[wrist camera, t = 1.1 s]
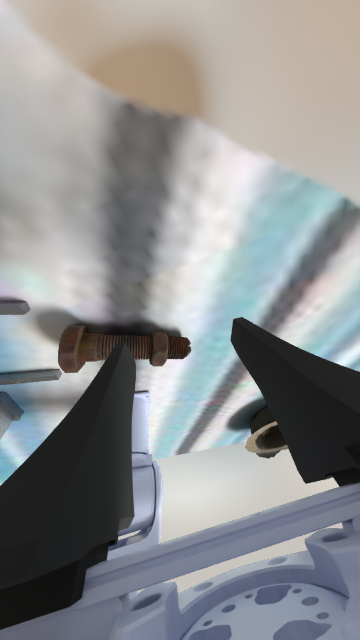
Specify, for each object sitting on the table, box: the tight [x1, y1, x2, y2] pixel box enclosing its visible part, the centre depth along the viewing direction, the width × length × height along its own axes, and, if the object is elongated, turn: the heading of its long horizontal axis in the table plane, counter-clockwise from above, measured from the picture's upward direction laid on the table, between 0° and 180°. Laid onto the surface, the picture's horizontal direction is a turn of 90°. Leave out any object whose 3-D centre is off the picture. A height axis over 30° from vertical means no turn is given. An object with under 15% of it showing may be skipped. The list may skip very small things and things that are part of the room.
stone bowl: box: [246, 407, 288, 458], centre depth 47 cm, size 25×25×9 cm
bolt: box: [58, 324, 191, 373], centre depth 19 cm, size 6×5×15 cm
